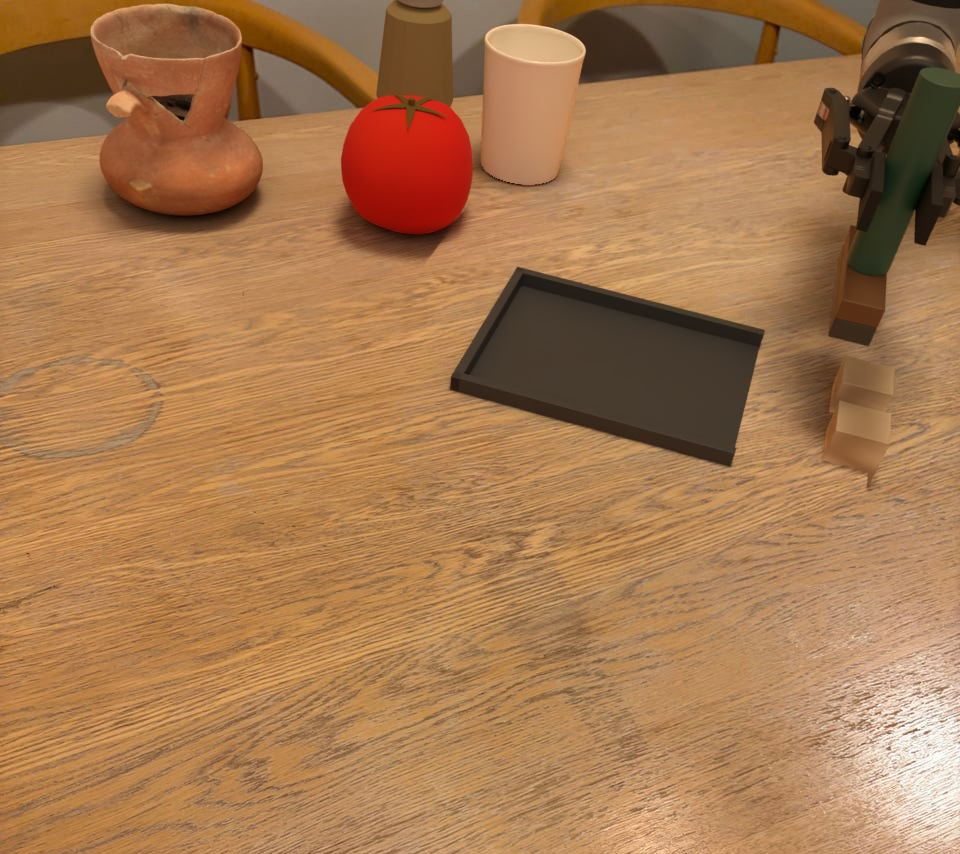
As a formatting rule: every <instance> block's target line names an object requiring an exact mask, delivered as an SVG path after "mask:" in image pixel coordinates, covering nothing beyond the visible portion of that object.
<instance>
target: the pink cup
mask: <svg viewBox="0 0 960 854" xmlns="http://www.w3.org/2000/svg"><path fill="white" fill-rule="evenodd" d="M483 43H484V57H483V58H484V60H483V83H482V84H483V85H482V87H483V88H482V106H481V107H482V108H481V129H480V130H481V132H480V165H481V168H482V167H483V168H482V169H483V171H484V172H485V173H487V172H488V173H489V174H490V175H489V174H488V173H487V174H488V175H489V176H491V175H492V176H493V177H492V176H491V177H492V178H494V177H495V178H494V179H496V178H497V179H496V180H498V179H500V180H499V181H501V180H503V181H502V182H504V181H507V182H510V183H509V184H511V183H515V184H514V185H516V184H523V185H522V186H539V185H538V184H540V185H543V184H542V183H544V184H547V183H550V182H552V181H553V180H555V178H557V176H558V174H559V172H560V169H561V165H562V161H563V156H564V152H565V148H566V144H567V143H566V142H567V138H568V133H569V129H570V124H571V119H572V115H573V111H574V106H575V100H576V96H577V92H578V87H579V83H580V82H579V81H580V78H581V74H582V69H583V64H584V60H585V57H586V53H587V50H586V49H587V48H586V46H585V45H584V43H583V42H582V41H581V40H580V39H578V38H577V37H576V36H575V35H572V34H570V33H568V32H566V31H562V30H560V29H557V28H553V27H549V26H545V25H539V24H529V23H510V24H504V25H499V26H495V27H493V28H491V29H489V30H488V31H487V32H486V33H485V36H484V42H483ZM551 180H552V181H551ZM549 181H550V182H549ZM507 182H506V183H507ZM546 182H547V183H546ZM535 184H537V185H535Z"/></svg>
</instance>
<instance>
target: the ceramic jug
mask: <svg viewBox="0 0 960 854" xmlns="http://www.w3.org/2000/svg"><path fill="white" fill-rule="evenodd" d="M89 33H90V40H91V44H92V48H93V51H94V54H95V56H96V59H97V62H98V65H99V66H100V69H101V71H102V73H103V75H104V77H105V80H106V81H107V84H108V86H109V88H110V90H111V92H112V93H113V95H111V96H110V98H109V99H108V100H107V101H106V105H105V108H106V110H107V111H108V112H109V113H110V114H111V115H113V116H114V117H115V118H125V119H124V120H123V121H122V122H120V123H119V124H117V125H116V126H115V127H114V128H113V129H112V130H110V131H109V133H108V134H107V135H106V136H105V138H104V140H103V142H102V144H101V146H100V151H99V166H100V170H101V174H102V175H103V177H104V179H105V181H106V183H107V184H108V186H109V187H110V188H111V189H112V190H113V191H114V193H116V194H117V195H118V196H119V197H120V198H121V199H123V200H124V201H127V202H128V203H130V204H131V205H134V206H136V207H137V208H141V209H143V210H146V211H150V212H153V213H157V214H161V215H169V216H186V217H187V216H200V215H201V216H202V215H208V214H213V213H217V212H221V211H224V210H227V209H228V208H231V207H234V206H235V205H237V204H239V203H241V202H242V201H244V200H245V199H246V198H248V197H249V196H250V195H251V194H252V193H253V192H254V191H255V190H256V188H257V187H258V185H259V183H260V182H261V179H262V175H263V169H264V160H263V157H262V153H261V150H260V148H259V147H258V145H257V143H256V142H255V140H254V139H253V138H252V137H251V136H250V135H249V134H248V133H247V132H246V131H244V130H243V129H242V128H240V127H239V126H237V125H236V124H235V123H233V122H231V121H230V120H229V117H230V114H231V113H230V112H231V109H232V99H233V93H234V89H235V85H236V82H237V79H238V78H237V77H238V75H239V71H240V64H241V57H242V50H243V37H242V32H241V29H240V28H239V26H237V25H236V24H235V22H233V20H231V19H229V18H228V17H226V16H224V15H222V14H217V13H216V12H214V11H212V10H209V9H207V8H204V7H199V6H194V5H189V6H188V5H187V6H186V5H178V4H173V3H155V4H151V3H146V4H139V5H131V6H129V7H120V8H116V9H115V10H112V11H108V12H106V13H104V14H102V15H101V16H100V17H97V18H96V19H95V20H94V21H93V23H92V25H91V26H90V29H89Z"/></svg>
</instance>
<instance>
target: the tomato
mask: <svg viewBox="0 0 960 854" xmlns="http://www.w3.org/2000/svg"><path fill="white" fill-rule="evenodd" d="M389 92H391V91H389ZM391 93H392V94H394V95H390V96H383V97H380V98H377V97H376V99H374V100H372V101H371V102H369V103H368V104H366V105H365V106H364V107H362V109H361V110H360V111H359V112H358V113H357V115H356V117H355V118H354V119H353V121H351V124H350V125H349V127H348V130H347V133H346V136H345V138H344V141H343V145H342V149H341V150H342V151H341V157H340V170H341V178H342V179H341V180H342V185H343V187H344V190H345V194H346V196H347V198H348V199H349V201H350V203H351V205H352V207H353V208H354V210H355V211H356V212H357V213H358V214H359V215H360V216H361V217H362V218H363V219H364V220H365V221H367V222H369V223H370V224H373V225H376V226H378V227H380V228H382V229H386V230H388V231H392V232H397V233H401V234H406V235H425V234H430V233H435V232H437V231H440V230H442V229H445V228H447V227H448V226H450V225H452V224H453V223H454V222H455V221H456V220H457V218H459V216H460V215H461V214H462V212H463V211H464V209H465V206H466V204H467V202H468V200H469V197H470V191H471V188H472V183H473V176H474V175H473V173H474V159H473V148H472V144H471V138H470V135H469V133H468V131H467V129H466V127H465V125H464V122H463V120H462V118H461V117H460V116H459V115H458V114H457V113H456V112H455V110H453V108H452V107H449V106H448V105H446V104H444V103H441V102H438V101H435V100H432V98H435V97H437V96H433V97H428V98H424V97H418V96H410V95H398V94H396V93H393V92H391Z"/></svg>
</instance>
